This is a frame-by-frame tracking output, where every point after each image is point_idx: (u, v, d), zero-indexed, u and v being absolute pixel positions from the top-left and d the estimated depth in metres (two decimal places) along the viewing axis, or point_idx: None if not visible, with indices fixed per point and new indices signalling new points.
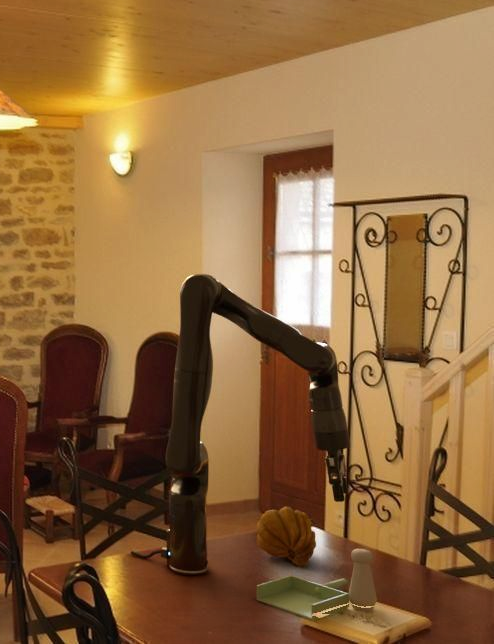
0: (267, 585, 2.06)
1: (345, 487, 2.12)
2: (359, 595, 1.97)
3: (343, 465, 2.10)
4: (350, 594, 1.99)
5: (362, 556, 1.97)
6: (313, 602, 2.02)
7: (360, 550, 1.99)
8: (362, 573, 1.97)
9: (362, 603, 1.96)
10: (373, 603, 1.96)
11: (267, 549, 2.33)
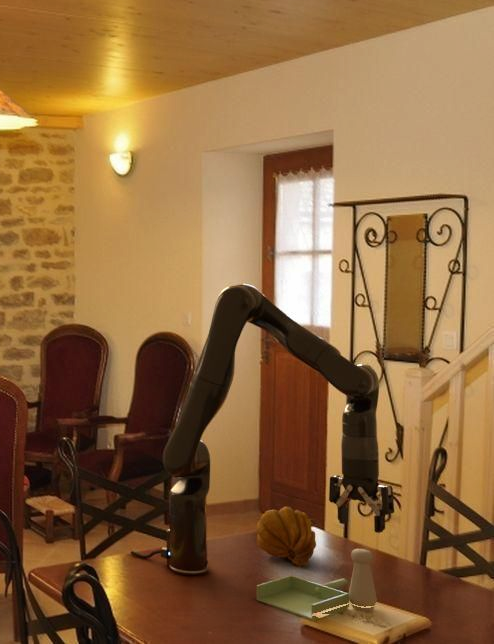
0: (267, 585, 2.06)
1: (347, 517, 2.02)
2: (359, 595, 1.97)
3: None
4: (350, 594, 1.99)
5: (362, 556, 1.97)
6: (313, 602, 2.02)
7: (360, 550, 1.99)
8: (362, 573, 1.97)
9: (362, 603, 1.96)
10: (373, 603, 1.96)
11: (267, 549, 2.33)
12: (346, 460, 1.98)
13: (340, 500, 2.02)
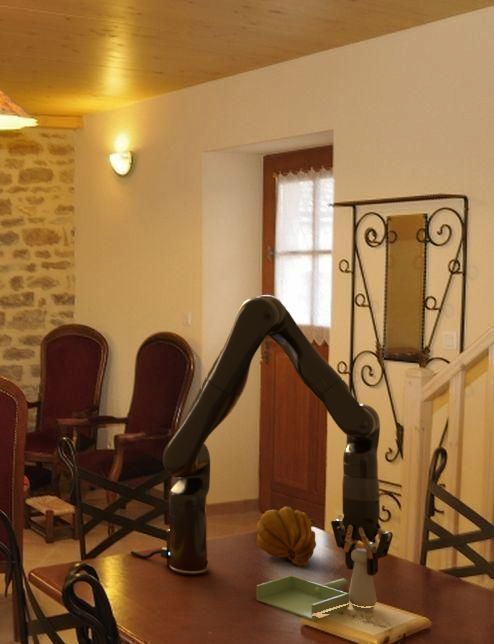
0: (267, 585, 2.06)
1: None
2: (359, 595, 1.97)
3: None
4: (350, 594, 1.99)
5: (362, 555, 1.97)
6: (313, 602, 2.02)
7: (360, 550, 1.99)
8: (362, 573, 1.97)
9: (362, 603, 1.96)
10: (373, 603, 1.96)
11: (267, 549, 2.33)
12: (347, 500, 1.98)
13: (346, 545, 2.00)
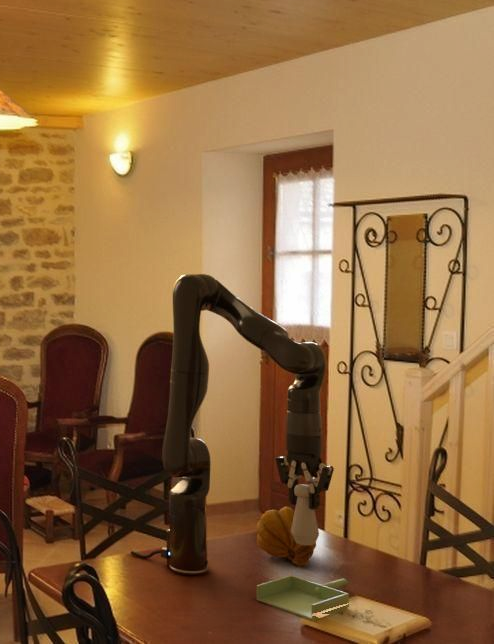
0: (267, 585, 2.06)
1: None
2: (301, 529, 1.99)
3: None
4: (293, 528, 2.01)
5: (304, 490, 2.00)
6: (313, 602, 2.02)
7: (303, 485, 2.01)
8: (304, 507, 2.00)
9: (304, 537, 1.99)
10: (315, 537, 1.99)
11: (267, 549, 2.33)
12: (290, 436, 2.00)
13: (290, 480, 2.03)
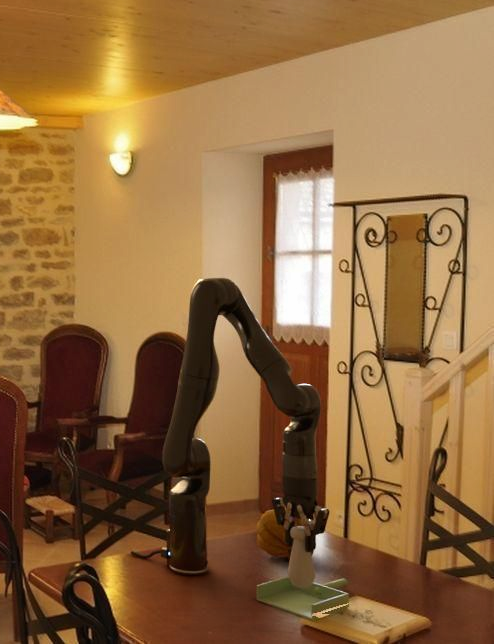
0: (267, 585, 2.06)
1: None
2: (297, 571, 2.00)
3: None
4: (289, 571, 2.02)
5: (300, 532, 2.00)
6: (313, 602, 2.02)
7: (299, 527, 2.02)
8: (301, 550, 2.00)
9: (300, 579, 1.99)
10: (311, 579, 1.99)
11: (267, 549, 2.33)
12: (285, 478, 2.00)
13: (286, 522, 2.03)
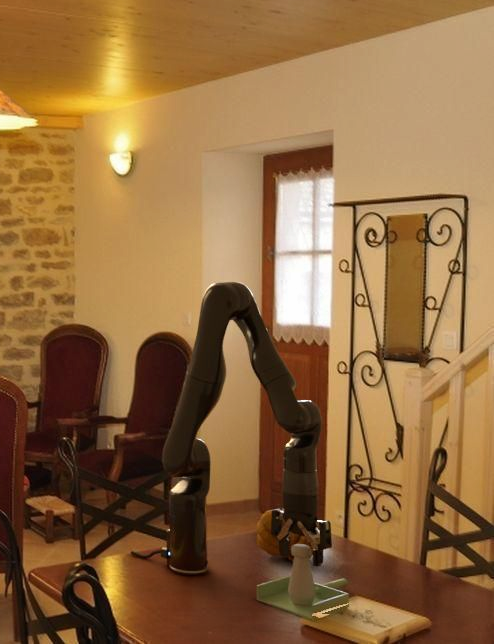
0: (267, 585, 2.06)
1: (288, 549, 2.05)
2: (298, 589, 2.00)
3: None
4: (289, 588, 2.02)
5: (301, 550, 2.00)
6: (313, 602, 2.02)
7: (299, 545, 2.02)
8: (301, 568, 2.00)
9: (301, 597, 1.99)
10: (311, 597, 1.99)
11: (267, 549, 2.33)
12: (286, 495, 2.00)
13: (281, 533, 2.05)
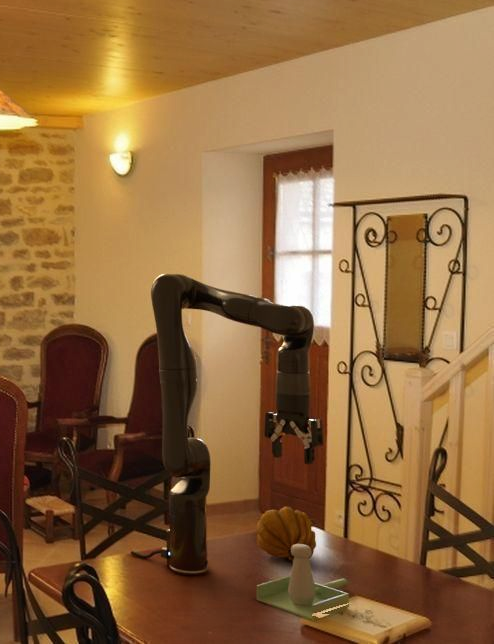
0: (267, 585, 2.06)
1: (281, 451, 2.11)
2: (298, 589, 2.00)
3: None
4: (289, 588, 2.02)
5: (301, 550, 2.00)
6: (313, 602, 2.02)
7: (299, 545, 2.02)
8: (301, 568, 2.00)
9: (301, 597, 1.99)
10: (311, 597, 1.99)
11: (267, 549, 2.33)
12: (279, 395, 2.06)
13: (274, 435, 2.11)
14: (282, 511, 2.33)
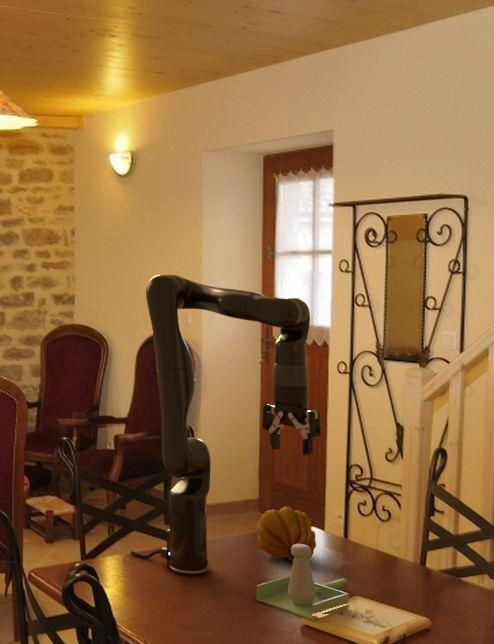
0: (267, 585, 2.06)
1: (279, 442, 2.13)
2: (298, 589, 2.00)
3: None
4: (289, 588, 2.02)
5: (301, 550, 2.00)
6: (313, 602, 2.02)
7: (299, 545, 2.02)
8: (301, 568, 2.00)
9: (301, 597, 1.99)
10: (311, 597, 1.99)
11: (267, 549, 2.33)
12: (277, 387, 2.08)
13: (272, 427, 2.12)
14: (282, 511, 2.33)
